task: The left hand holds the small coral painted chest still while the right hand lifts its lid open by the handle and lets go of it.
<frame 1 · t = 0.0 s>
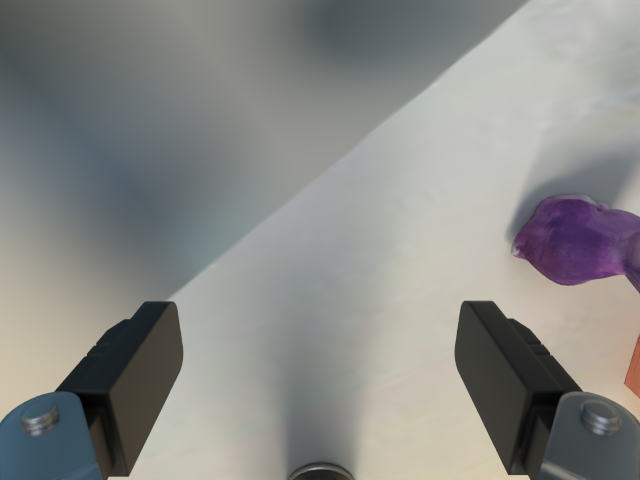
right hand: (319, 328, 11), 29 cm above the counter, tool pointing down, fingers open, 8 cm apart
figurine: (564, 224, 41), on the counter
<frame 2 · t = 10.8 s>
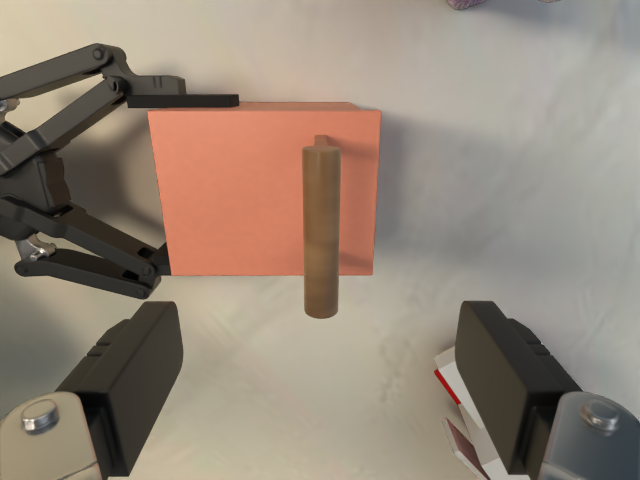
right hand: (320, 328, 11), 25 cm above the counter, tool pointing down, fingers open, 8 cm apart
left hand: (241, 182, 28), fingers closed on chest, 10 cm apart
toy: (515, 415, 45), on the counter
chest: (278, 163, 35), on the counter, touching left hand
lid: (261, 214, 21), point 15 cm above the counter, hinge at -0.1°
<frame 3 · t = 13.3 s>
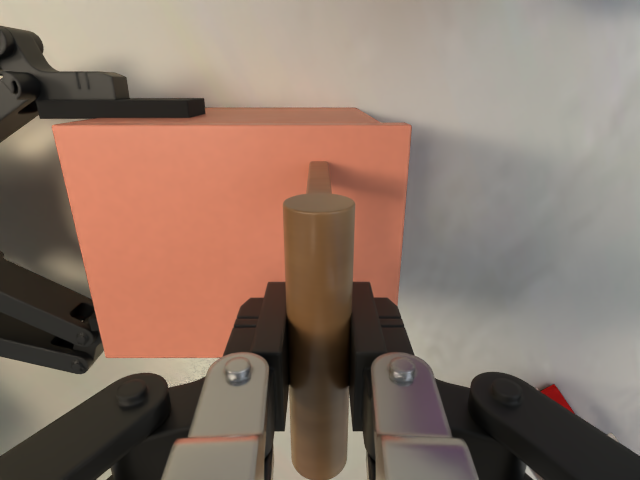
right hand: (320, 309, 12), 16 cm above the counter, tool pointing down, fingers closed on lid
chest: (265, 186, 27), on the counter, touching left hand
lid: (225, 289, 14), point 15 cm above the counter, hinge at 0.2°, touching right hand
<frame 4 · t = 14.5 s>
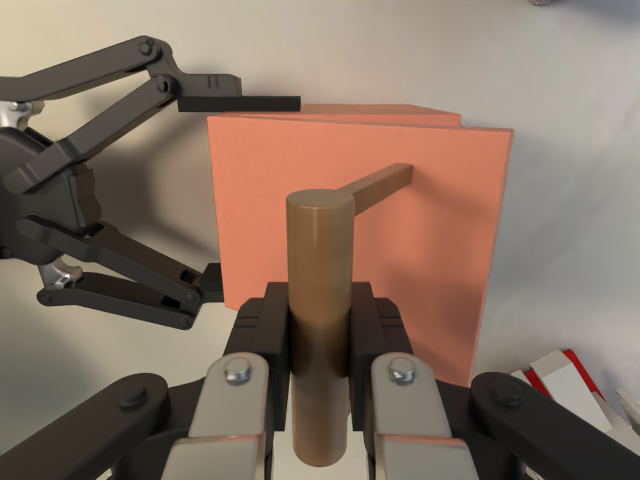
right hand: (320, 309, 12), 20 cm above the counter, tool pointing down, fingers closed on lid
left hand: (301, 196, 25), fingers closed on chest, 10 cm apart
toy: (567, 440, 42), on the counter
chest: (328, 172, 31), on the counter, touching left hand
lid: (289, 269, 15), point 18 cm above the counter, hinge at 31.8°, touching right hand
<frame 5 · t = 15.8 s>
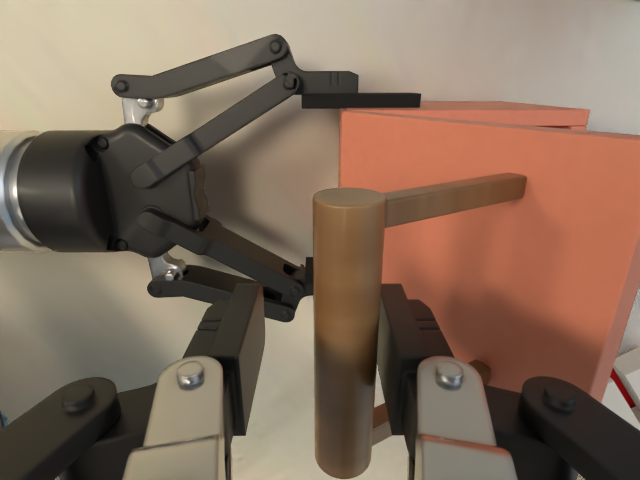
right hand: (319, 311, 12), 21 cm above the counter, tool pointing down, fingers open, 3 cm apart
left hand: (407, 191, 25), fingers closed on chest, 10 cm apart
toy: (635, 440, 42), on the counter
chest: (414, 169, 32), on the counter, touching left hand
lid: (369, 271, 14), point 19 cm above the counter, hinge at 59.4°
when the left hand's fingers open (7 cm above the counter, at t = 19.8 s): chest stays where it is, on the counter.
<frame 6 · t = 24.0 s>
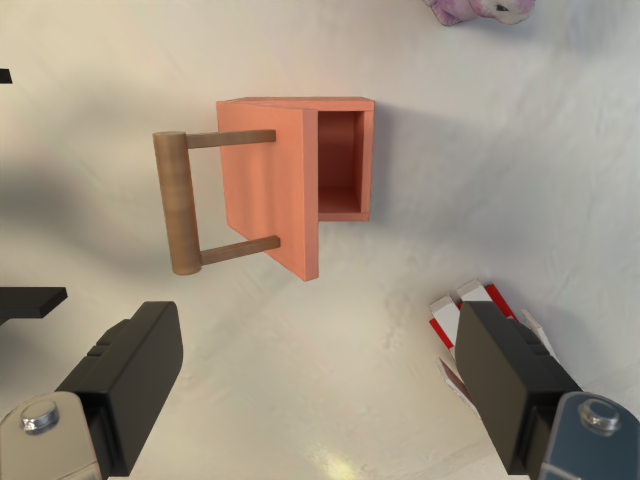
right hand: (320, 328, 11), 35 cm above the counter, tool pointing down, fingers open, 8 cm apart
toy: (497, 361, 54), on the counter
chest: (304, 146, 44), on the counter
lid: (214, 187, 26), point 19 cm above the counter, hinge at 56.7°
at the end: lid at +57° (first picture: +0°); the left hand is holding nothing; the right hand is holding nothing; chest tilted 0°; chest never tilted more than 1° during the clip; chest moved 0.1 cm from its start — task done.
